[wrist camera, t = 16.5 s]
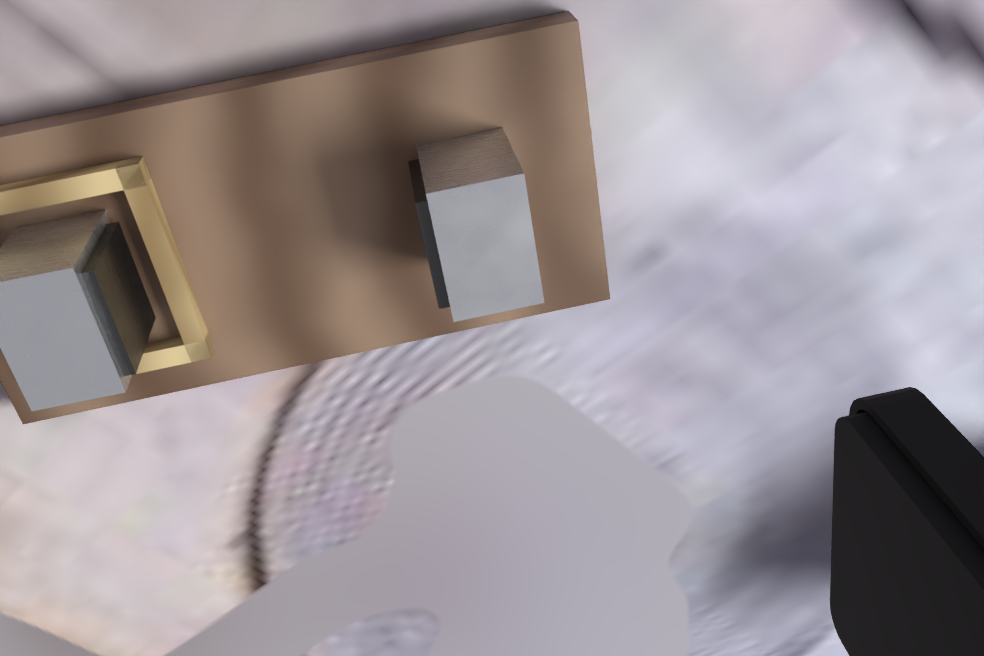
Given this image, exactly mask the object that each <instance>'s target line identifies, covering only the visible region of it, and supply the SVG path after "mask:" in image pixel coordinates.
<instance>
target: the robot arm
mask: <svg viewBox="0 0 984 656" xmlns="http://www.w3.org/2000/svg"><path fill="white" fill-rule="evenodd" d="M830 609H831V615H832V619H833V622H834V626H835V629H836V631H837V634H838V636H839V638H840V640H841V642H842V644H843V645H844V647H845V649H846V651H847V652H848V654H849V656H984V457H983V456H982V455H981V453H980V452H979V451H978V450H977V449H976V448H975V447H974V446H973V445H972V444H971V443H970V442H969V441H968V440H967V439H966V438H965V437H964V436H963V435H962V434H961V433H960V432H959V431H958V430H957V429H956V427H955V426H954V425H953V424H952V423H951V422H950V421H949V420H948V419H947V418H946V417H945V416H944V415H943V414H942V413H941V412H940V411H939V410H938V409H937V408H936V407H935V406H934V405H933V404H932V402H931V401H930V400H929V399H928V398H927V397H926V396H925V395H924V394H923V393H921V392H920V391H919V390H917V389H915V388H911V387H908V388H904V389H899V390H895V391H890V392H886V393H881V394H876V395H872V396H867V397H863V398H858V399H856V400H854V401H853V403H852V405H851V407H850V413H849V416H845V417H841V418H839V419H838V420H837V422H836V425H835V441H834V477H833V514H832V550H831V586H830Z"/></svg>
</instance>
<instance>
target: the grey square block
mask: <svg viewBox="0 0 984 656" xmlns="http://www.w3.org/2000/svg"><path fill="white" fill-rule="evenodd" d="M416 148H417V153H418V158H419V159H417V160H412V161H408V164H409V170H410V176H411V181H412V187H413V193H414V199H415V204H416V209H417V213H418V218H419V222H420V226H421V231H422V235H423V240H424V244H425V249H426V253H427V258H428V262H429V267H430V271H431V276H432V280H433V285H434V289H435V294H436V298H437V303H438V307H439V309H442V308H447V307H450V308H451V313H452V317H453V322H457V321H462V320H466V319H471V318H476V317H480V316H485V315H490V314H495V313H499V312H504V311H509V310H513V309H518V308H523V307H527V306H532V305H537V304H541V303H544V297H543V290H542V284H541V277H540V271H539V265H538V258H537V252H536V245H535V239H534V233H533V226H532V220H531V213H530V207H529V201H528V194H527V188H526V181H525V175H524V172H523V170H522V168H521V165H520V163H519V161H518V159H517V157H516V155H515V153H514V151H513V148H512V146H511V144H510V142H509V140H508V138H507V136H506V134H505V132H504V129H503V127H501V128H496V129H491V130H486V131H481V132H476V133H472V134H467V135H462V136H457V137H452V138H447V139H442V140H438V141H433V142H428V143H423V144H418V145H416Z"/></svg>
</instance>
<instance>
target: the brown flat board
mask: <svg viewBox="0 0 984 656" xmlns="http://www.w3.org/2000/svg"><path fill="white" fill-rule="evenodd" d="M501 127H503V129H504V132H505V134H506V136H507V138H508V140H509V142H510V144H511V146H512V148H513V151H514V153H515V155H516V157H517V159H518V161H519V163H520V165H521V168H522V170H523V172H524V175H525V181H526V188H527V194H528V201H529V207H530V213H531V220H532V226H533V233H534V239H535V245H536V252H537V258H538V265H539V271H540V277H541V284H542V290H543V297H544V303H541V304H537V305H532V306H527V307H523V308H518V309H513V310H509V311H504V312H499V313H495V314H490V315H485V316H480V317H476V318H471V319H466V320H462V321H457V322H453V317H452V313H451V308H450V307H447V308H442V309H439V307H438V303H437V298H436V294H435V289H434V285H433V280H432V276H431V271H430V267H429V262H428V258H427V253H426V249H425V244H424V240H423V235H422V231H421V226H420V222H419V218H418V213H417V209H416V204H415V199H414V193H413V187H412V181H411V176H410V170H409V164H408V161H412V160H417V159H419V158H418V153H417V148H416V145H418V144H423V143H428V142H433V141H438V140H442V139H447V138H452V137H457V136H462V135H467V134H472V133H476V132H481V131H486V130H491V129H496V128H501ZM105 209H106V211H107V213H108V216H109V218H110V221H111V223H114V222H119V224H120V226H121V229H122V231H123V234H124V236H125V239H126V242H127V244H128V247H129V249H130V252H131V255H132V257H133V260H134V262H135V265H136V268H137V270H138V273H139V275H140V278H141V280H142V283H143V286H144V288H145V291H146V293H147V296H148V299H149V301H150V304H151V306H152V309H153V312H154V314H155V317H156V319H155V322H154V324H153V327H152V330H151V333H150V336H149V338H148V341H147V344H146V347H145V350H144V353H143V355H142V358H141V361H140V364H139V367H138V369H137V372H136V374H134V375H132V377H131V380H130V382H129V385H128V388H127V391H126V393H121V394H116V395H111V396H106V397H101V398H96V399H91V400H86V401H81V402H76V403H71V404H66V405H61V406H56V407H51V408H46V409H41V410H36V411H31V409H30V407H29V405H28V403H27V401H26V399H25V397H24V395H23V393H22V391H21V389H20V387H19V385H18V383H17V381H16V379H15V377H14V375H13V373H12V371H11V369H10V367H9V365H8V363H7V361H6V359H5V357H4V355H3V352H2V350H1V348H0V381H1V383H2V385H3V387H4V388H5V390H6V392H7V394H8V396H9V398H10V400H11V402H12V404H13V406H14V408H15V410H16V411H17V413H18V415H19V417H20V419H21V421H22V423H23V424H27V423H31V422H36V421H41V420H45V419H50V418H55V417H59V416H64V415H69V414H73V413H78V412H83V411H87V410H92V409H97V408H102V407H106V406H111V405H116V404H120V403H125V402H130V401H134V400H139V399H144V398H148V397H153V396H158V395H162V394H167V393H172V392H177V391H181V390H186V389H191V388H195V387H200V386H205V385H209V384H214V383H219V382H223V381H228V380H233V379H237V378H242V377H247V376H252V375H256V374H261V373H266V372H270V371H275V370H280V369H284V368H289V367H294V366H298V365H303V364H308V363H312V362H317V361H322V360H326V359H331V358H336V357H341V356H345V355H350V354H355V353H359V352H364V351H369V350H373V349H378V348H383V347H387V346H392V345H397V344H401V343H406V342H411V341H416V340H420V339H425V338H430V337H434V336H439V335H444V334H448V333H453V332H458V331H462V330H467V329H472V328H476V327H481V326H486V325H491V324H495V323H500V322H505V321H509V320H514V319H519V318H523V317H528V316H533V315H537V314H542V313H547V312H551V311H556V310H561V309H565V308H570V307H575V306H580V305H584V304H589V303H594V302H598V301H603V300H608V299H610V293H609V285H608V276H607V267H606V259H605V250H604V241H603V232H602V224H601V215H600V206H599V198H598V189H597V180H596V171H595V163H594V154H593V145H592V137H591V128H590V119H589V111H588V102H587V93H586V84H585V76H584V67H583V58H582V50H581V41H580V32H579V23H578V20H577V19H576V18H575V17H574V16H573V15H572V14H571V13H570V12H569V11H567V12H562V13H557V14H552V15H547V16H542V17H537V18H532V19H527V20H522V21H517V22H512V23H508V24H503V25H498V26H493V27H488V28H483V29H478V30H473V31H468V32H463V33H458V34H453V35H448V36H443V37H438V38H433V39H428V40H423V41H418V42H414V43H409V44H404V45H399V46H394V47H389V48H384V49H379V50H374V51H369V52H364V53H359V54H354V55H349V56H344V57H339V58H334V59H329V60H324V61H320V62H315V63H310V64H305V65H300V66H295V67H290V68H285V69H280V70H275V71H270V72H265V73H260V74H255V75H250V76H245V77H240V78H235V79H230V80H226V81H221V82H216V83H211V84H206V85H201V86H196V87H191V88H186V89H181V90H176V91H171V92H166V93H161V94H156V95H151V96H146V97H141V98H136V99H131V100H127V101H122V102H117V103H112V104H107V105H102V106H97V107H92V108H87V109H82V110H77V111H72V112H67V113H62V114H57V115H52V116H47V117H42V118H37V119H33V120H28V121H23V122H18V123H13V124H8V125H3V126H0V248H1V246H2V245H3V244H4V242H5V241H6V240H7V238H8V237H9V236H10V234H11V233H12V232H13V230H14V229H15V228H16V227H17V226H22V225H27V224H32V223H37V222H43V221H48V220H53V219H58V218H63V217H69V216H74V215H79V214H84V213H89V212H94V211H100V210H105Z"/></svg>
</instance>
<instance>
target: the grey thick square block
mask: <svg viewBox="0 0 984 656" xmlns="http://www.w3.org/2000/svg"><path fill="white" fill-rule="evenodd" d="M155 319H156V317H155V314H154V312H153V309H152V306H151V304H150V301H149V299H148V296H147V293H146V291H145V288H144V286H143V283H142V280H141V278H140V275H139V273H138V270H137V268H136V265H135V262H134V260H133V257H132V255H131V252H130V249H129V247H128V244H127V242H126V239H125V236H124V234H123V231H122V229H121V226H120V224H119V222H114V223H111V221H110V218H109V216H108V213H107V211H106V209H105V210H100V211H94V212H89V213H84V214H79V215H74V216H69V217H63V218H58V219H53V220H48V221H43V222H37V223H32V224H27V225H22V226H17V227H16V228H15V229H14V230H13V232H12V233H11V234H10V236H9V237H8V238H7V240H6V241H5V242H4V244H3V245H2V246H1V248H0V348H1V350H2V352H3V355H4V357H5V359H6V361H7V363H8V365H9V367H10V369H11V371H12V373H13V375H14V377H15V379H16V381H17V383H18V385H19V387H20V389H21V391H22V393H23V395H24V397H25V399H26V401H27V403H28V405H29V407H30V409H31V411H36V410H41V409H46V408H51V407H56V406H61V405H66V404H71V403H76V402H81V401H86V400H91V399H96V398H101V397H106V396H111V395H116V394H121V393H126V391H127V388H128V385H129V382H130V380H131V377H132V375H134V374H136V372H137V369H138V367H139V364H140V361H141V358H142V355H143V353H144V350H145V347H146V344H147V341H148V338H149V336H150V333H151V330H152V327H153V324H154V322H155Z"/></svg>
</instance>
